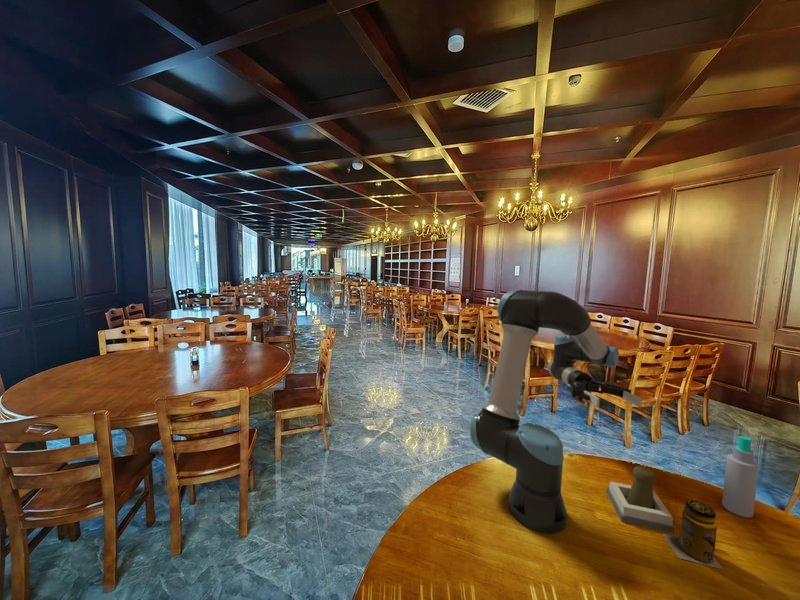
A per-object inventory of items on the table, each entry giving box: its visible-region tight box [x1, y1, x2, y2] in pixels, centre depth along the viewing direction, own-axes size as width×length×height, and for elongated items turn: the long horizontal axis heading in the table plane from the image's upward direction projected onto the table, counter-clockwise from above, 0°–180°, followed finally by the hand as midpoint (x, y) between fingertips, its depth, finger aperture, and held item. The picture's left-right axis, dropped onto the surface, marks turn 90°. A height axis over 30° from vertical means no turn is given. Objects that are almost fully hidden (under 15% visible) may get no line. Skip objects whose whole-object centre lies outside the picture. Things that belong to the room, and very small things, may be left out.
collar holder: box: [606, 481, 676, 534], centre depth 87 cm, size 12×12×4 cm
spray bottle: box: [721, 435, 760, 519], centre depth 87 cm, size 6×6×22 cm
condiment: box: [662, 498, 724, 569], centre depth 74 cm, size 7×8×12 cm
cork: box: [627, 465, 657, 509], centre depth 87 cm, size 6×6×11 cm
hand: (619, 402), depth 95 cm, fingers open, 13 cm apart
